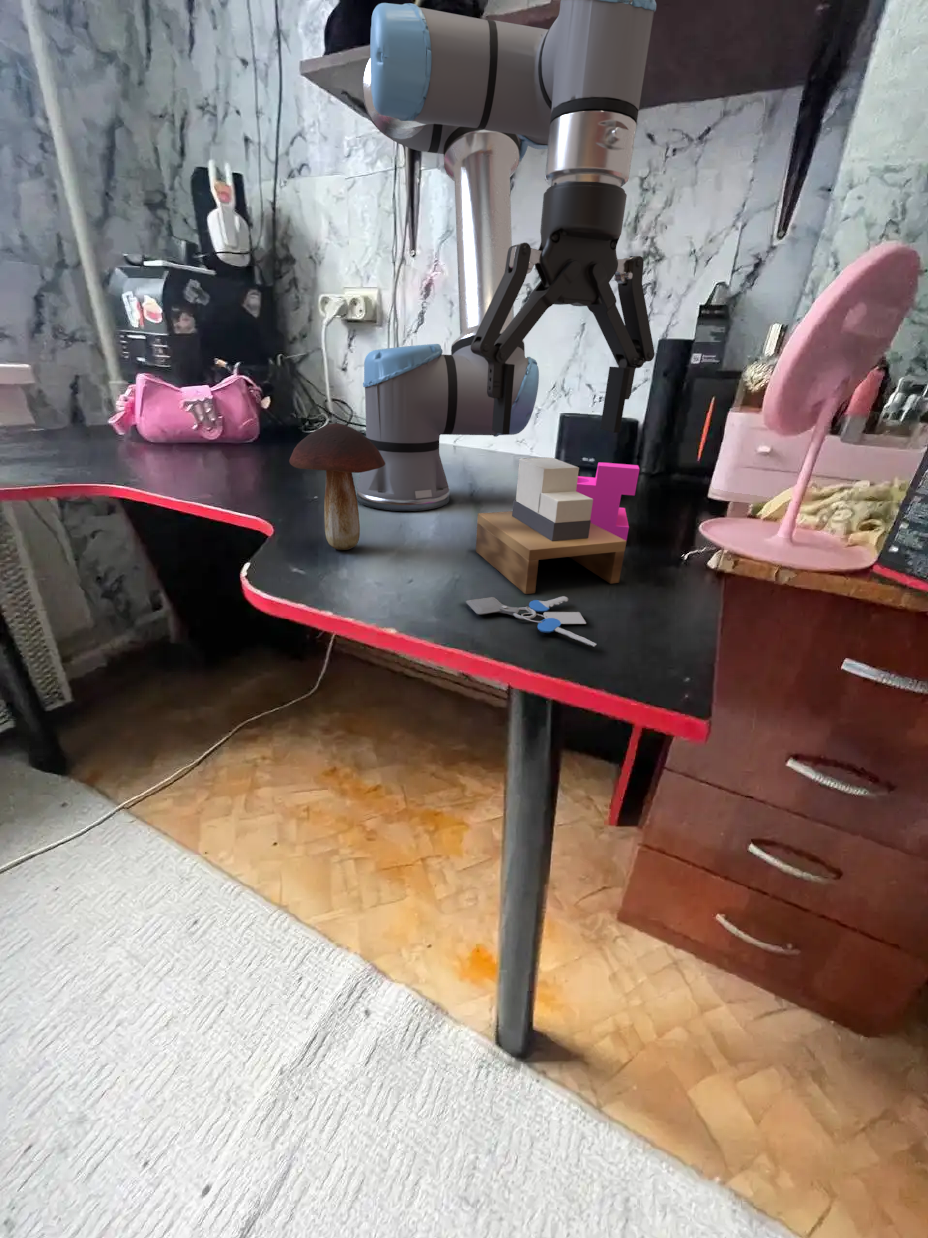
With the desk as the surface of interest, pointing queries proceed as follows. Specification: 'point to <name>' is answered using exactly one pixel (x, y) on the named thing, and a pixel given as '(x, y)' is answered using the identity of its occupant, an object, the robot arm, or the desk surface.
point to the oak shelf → (543, 549)
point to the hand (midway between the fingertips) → (557, 431)
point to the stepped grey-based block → (551, 499)
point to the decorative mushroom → (338, 476)
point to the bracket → (610, 495)
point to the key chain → (546, 625)
